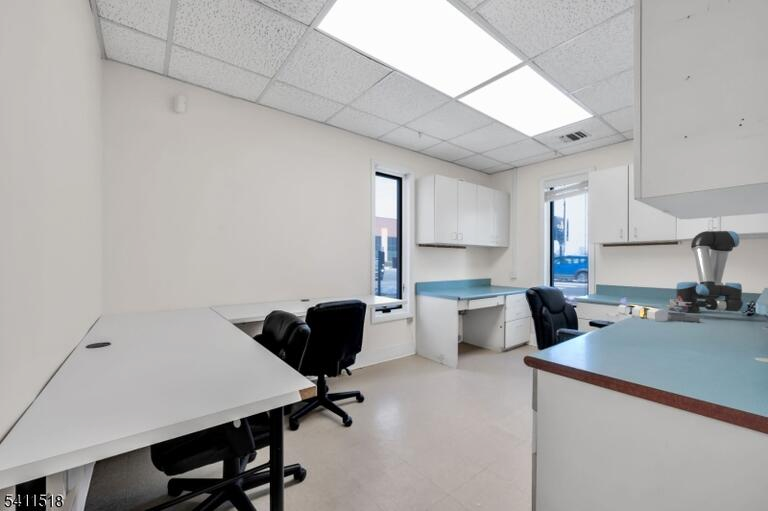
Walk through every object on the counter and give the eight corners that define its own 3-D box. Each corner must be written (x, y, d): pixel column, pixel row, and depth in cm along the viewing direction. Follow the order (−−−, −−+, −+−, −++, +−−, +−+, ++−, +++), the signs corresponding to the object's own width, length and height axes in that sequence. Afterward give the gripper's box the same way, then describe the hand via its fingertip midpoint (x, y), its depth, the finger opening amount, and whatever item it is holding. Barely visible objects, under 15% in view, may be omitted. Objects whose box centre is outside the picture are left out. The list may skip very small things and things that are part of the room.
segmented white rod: (618, 314, 221) (618, 296, 221) (630, 314, 223) (630, 296, 223) (654, 322, 196) (655, 301, 196) (667, 321, 198) (668, 301, 198)
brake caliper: (696, 309, 214) (685, 296, 214) (682, 319, 214) (671, 305, 215) (682, 307, 225) (671, 293, 225) (668, 315, 226) (658, 302, 226)
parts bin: (685, 318, 210) (685, 313, 210) (699, 322, 195) (699, 317, 195) (658, 316, 215) (658, 311, 215) (670, 320, 200) (670, 315, 200)
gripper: (726, 313, 202) (683, 310, 210) (703, 307, 224) (666, 304, 232) (726, 301, 202) (683, 299, 210) (704, 297, 224) (666, 295, 232)
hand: (674, 302), depth 221 cm, fingers closed on brake caliper, 11 cm apart
